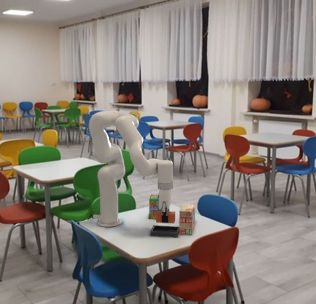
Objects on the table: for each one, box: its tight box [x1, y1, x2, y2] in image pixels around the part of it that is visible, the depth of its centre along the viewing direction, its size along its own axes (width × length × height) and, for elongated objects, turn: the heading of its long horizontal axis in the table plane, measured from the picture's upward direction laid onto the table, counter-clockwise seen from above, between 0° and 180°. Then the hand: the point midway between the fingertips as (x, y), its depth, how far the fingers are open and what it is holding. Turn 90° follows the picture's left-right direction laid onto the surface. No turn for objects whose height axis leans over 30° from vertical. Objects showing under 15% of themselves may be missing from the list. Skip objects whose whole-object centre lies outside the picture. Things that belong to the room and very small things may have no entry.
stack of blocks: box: [178, 203, 196, 236], centre depth 218 cm, size 21×6×12 cm, turn 168°
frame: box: [149, 224, 180, 238], centre depth 211 cm, size 14×10×2 cm
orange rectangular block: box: [155, 210, 176, 224], centre depth 209 cm, size 9×5×4 cm, turn 79°
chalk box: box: [148, 193, 162, 220], centre depth 235 cm, size 9×9×15 cm
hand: (165, 220), depth 210 cm, fingers closed on orange rectangular block, 5 cm apart
